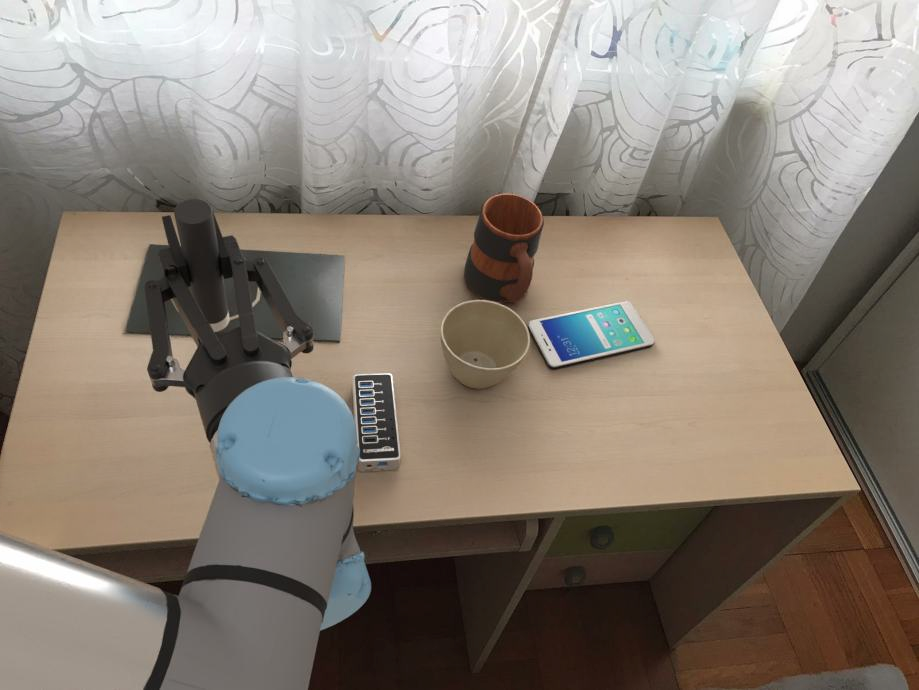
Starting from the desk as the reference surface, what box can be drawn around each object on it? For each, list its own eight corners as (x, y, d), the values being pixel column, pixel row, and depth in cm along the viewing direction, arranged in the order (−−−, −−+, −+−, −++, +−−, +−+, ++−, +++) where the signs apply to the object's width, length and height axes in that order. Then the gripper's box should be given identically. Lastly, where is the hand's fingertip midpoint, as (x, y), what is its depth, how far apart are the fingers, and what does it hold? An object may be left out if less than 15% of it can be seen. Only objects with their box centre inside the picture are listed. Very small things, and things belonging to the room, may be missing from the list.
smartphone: (657, 343, 93) (551, 367, 88) (655, 347, 94) (549, 371, 89) (629, 299, 97) (526, 320, 92) (627, 303, 98) (525, 325, 93)
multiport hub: (391, 384, 85) (392, 372, 83) (399, 469, 78) (401, 459, 77) (351, 385, 84) (352, 373, 82) (357, 472, 78) (358, 461, 76)
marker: (194, 331, 71) (170, 222, 60) (199, 307, 73) (177, 197, 62) (227, 333, 71) (209, 224, 60) (231, 309, 73) (214, 200, 62)
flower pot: (503, 418, 84) (516, 382, 79) (421, 388, 85) (428, 350, 80) (527, 354, 90) (540, 316, 85) (450, 327, 91) (457, 288, 86)
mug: (481, 330, 92) (498, 264, 83) (455, 261, 99) (468, 193, 89) (545, 321, 94) (569, 256, 85) (515, 254, 101) (534, 187, 92)
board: (125, 333, 84) (124, 331, 84) (150, 245, 93) (149, 243, 93) (339, 342, 88) (339, 340, 87) (344, 256, 96) (344, 255, 96)
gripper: (157, 484, 57) (105, 269, 69) (357, 424, 62) (276, 235, 75) (137, 433, 51) (85, 208, 63) (360, 371, 57) (272, 176, 69)
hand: (189, 223), depth 69 cm, fingers closed on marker, 3 cm apart
